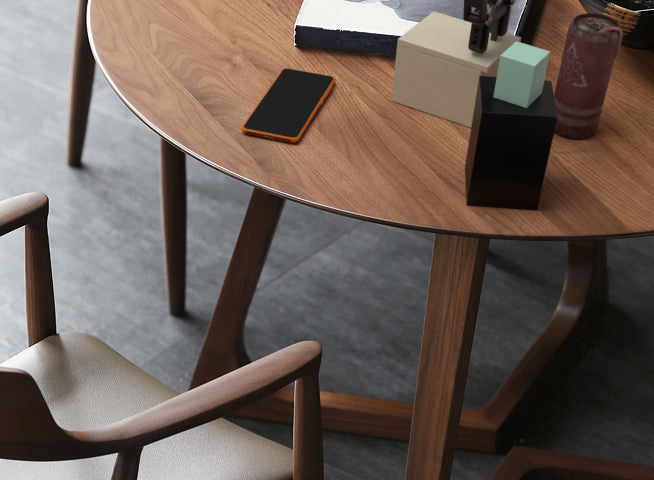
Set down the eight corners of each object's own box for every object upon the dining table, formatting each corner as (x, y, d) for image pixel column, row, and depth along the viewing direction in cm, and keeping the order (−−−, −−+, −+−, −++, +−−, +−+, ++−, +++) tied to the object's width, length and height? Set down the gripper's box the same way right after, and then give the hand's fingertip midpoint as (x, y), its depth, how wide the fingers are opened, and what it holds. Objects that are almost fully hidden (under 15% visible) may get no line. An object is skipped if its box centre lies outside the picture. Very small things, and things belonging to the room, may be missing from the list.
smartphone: (239, 133, 133) (239, 127, 132) (283, 72, 144) (283, 66, 144) (298, 145, 131) (298, 138, 131) (337, 82, 143) (337, 76, 142)
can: (595, 144, 133) (622, 38, 124) (544, 134, 135) (567, 28, 125) (601, 120, 137) (628, 16, 128) (551, 111, 139) (574, 7, 129)
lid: (520, 43, 135) (528, 0, 132) (487, 73, 130) (494, 29, 126) (433, 16, 140) (438, -26, 136) (397, 44, 134) (401, 1, 131)
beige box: (504, 97, 141) (514, 41, 136) (471, 128, 135) (481, 71, 130) (426, 72, 146) (433, 17, 140) (391, 101, 140) (397, 45, 134)
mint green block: (541, 93, 118) (550, 51, 114) (526, 108, 115) (535, 65, 112) (508, 83, 119) (516, 40, 116) (492, 97, 117) (500, 55, 113)
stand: (532, 172, 128) (551, 80, 120) (537, 210, 122) (557, 117, 114) (464, 167, 129) (479, 75, 120) (466, 205, 123) (482, 111, 115)
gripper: (513, -72, 115) (489, 74, 127) (566, -110, 124) (539, 29, 136) (451, -88, 118) (433, 56, 130) (506, -124, 127) (485, 13, 139)
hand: (487, 41), depth 133 cm, fingers closed on lid, 5 cm apart
